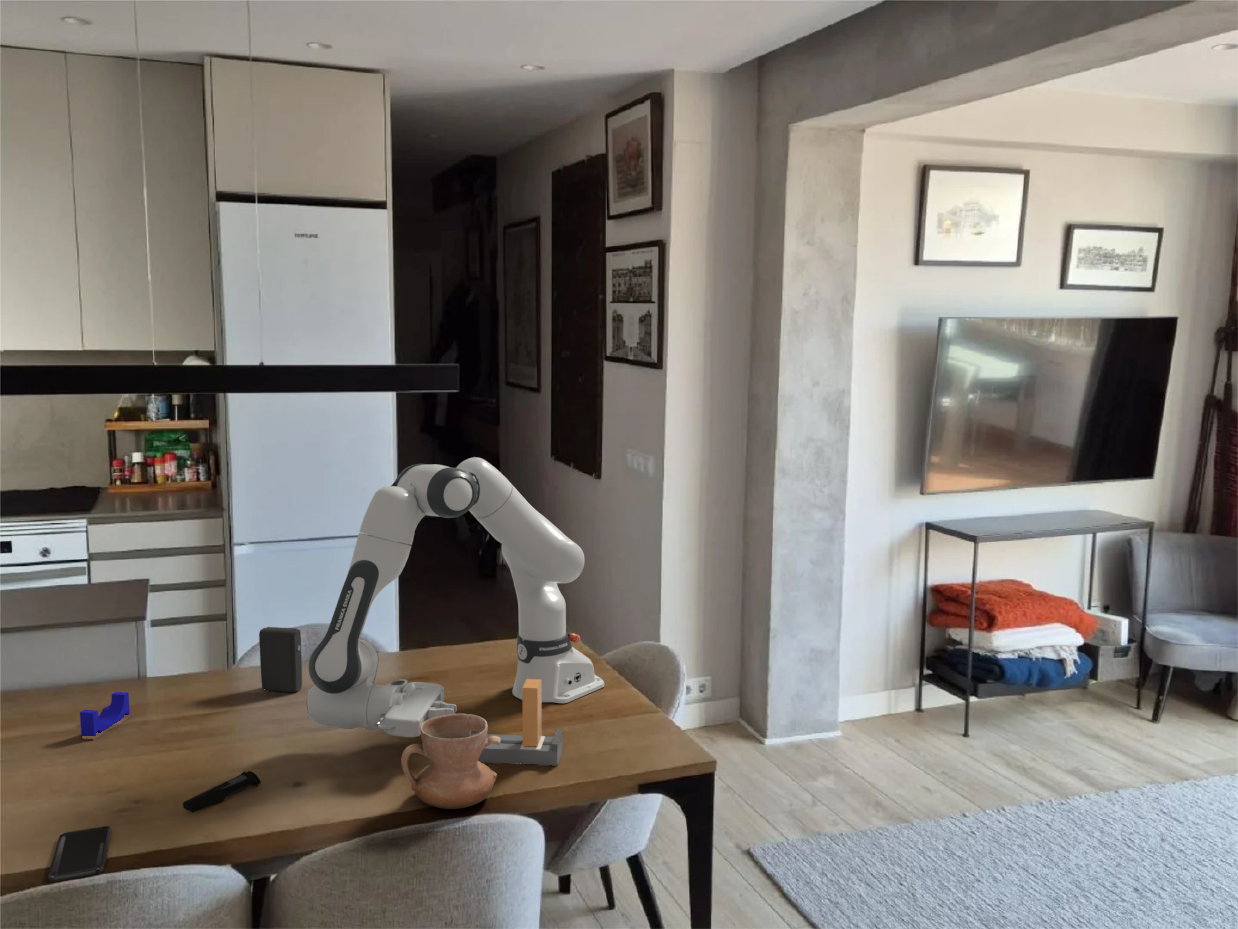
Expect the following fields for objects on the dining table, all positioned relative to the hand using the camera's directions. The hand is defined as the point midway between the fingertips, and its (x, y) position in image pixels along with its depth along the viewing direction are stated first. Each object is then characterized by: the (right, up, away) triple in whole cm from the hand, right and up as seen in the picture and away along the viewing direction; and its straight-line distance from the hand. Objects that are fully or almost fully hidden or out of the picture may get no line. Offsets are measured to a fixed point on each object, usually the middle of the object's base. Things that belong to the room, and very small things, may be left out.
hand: (454, 711), depth 203 cm
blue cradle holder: (-78, -7, +13) cm, 79 cm away
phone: (-55, -15, -38) cm, 68 cm away
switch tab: (+16, -6, 0) cm, 17 cm away
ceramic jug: (+2, -12, -18) cm, 22 cm away
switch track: (+11, -9, +1) cm, 15 cm away
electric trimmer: (-40, -12, -18) cm, 45 cm away
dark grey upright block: (-47, -4, +36) cm, 59 cm away
